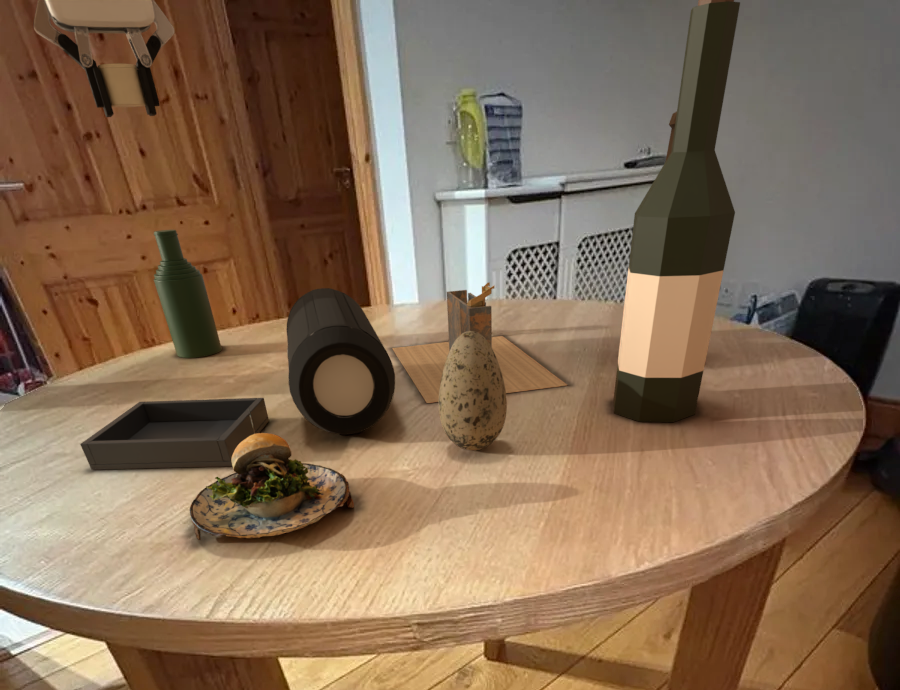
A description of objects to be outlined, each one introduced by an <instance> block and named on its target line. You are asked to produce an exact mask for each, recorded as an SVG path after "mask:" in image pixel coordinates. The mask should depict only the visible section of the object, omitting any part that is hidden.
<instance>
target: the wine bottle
mask: <svg viewBox="0 0 900 690" xmlns="http://www.w3.org/2000/svg"><path fill="white" fill-rule="evenodd" d="M740 7H741V2H740V1H735V0H698V1H697V5H696V6H693V7H692V8H691V9H690V15H689V21H688V22H689V23H688V28H687V37H686V44H685V51H684V58H683V66H682V71H681V78H680V86H679V92H678V101H677V102H678V103H677V107H676V108H677V109H676V111H677V115H676V122H675V129H674V137H673V144H672V151H671V154H670V155H669V157H668V159H667V160H666V159H665V161H666V162H665V161H664V164H663V165H662V166H661V169H660V170H659V172H658V173H657V175H656V177H655V178H654V180H653V182H652V184H651V185H650V187H649V189H648V190H647V192H646V194H645V196H644V197H643V199H642V201H641V202H640V204H639V205H638V207H637V209H636V211H635V212H634V217H633V225H632V235H631V243H630V251H629V261H628V269H627V278H626V285H625V286H626V287H625V295H624V303H623V304H624V305H623V313H622V320H621V321H622V322H621V330H620V339H619V347H618V357H617V366H616V374H615V382H614V390H613V400H612V405H613V413H614V414H615V415H618V416H621V417H625V418H626V419H630V420H633V421H636V422H638V423H675V422H678V421H681V420H683V419H686V418H688V417H692V416H694V415H696V410H697V405H698V400H699V396H700V391H701V384H702V379H703V376H704V370H705V365H706V360H707V355H708V350H709V345H710V341H711V335H712V331H713V327H714V326H713V325H714V319H715V315H716V311H717V306H718V299H719V295H720V290H721V285H722V280H723V275H724V270H725V265H726V259H727V255H728V250H729V245H730V241H731V236H732V235H731V234H732V229H733V224H734V220H735V214H736V210H735V208H734V205H733V202H732V199H731V196H730V192H729V189H728V185H727V184H726V180H725V177H724V174H723V171H722V168H721V165H720V162H719V159H718V156H717V153H716V145H717V139H718V134H719V127H720V123H721V116H722V111H723V105H724V104H723V103H724V99H725V93H726V87H727V81H728V77H729V70H730V64H731V59H732V53H733V48H734V47H733V46H734V41H735V35H736V30H737V24H738V18H739V12H740Z"/></svg>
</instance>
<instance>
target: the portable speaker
mask: <svg viewBox="0 0 900 690" xmlns="http://www.w3.org/2000/svg"><path fill="white" fill-rule="evenodd" d="M285 329H286V338H287V341H286V342H287V351H286V353H287V356H286V357H287V363H288V375H287V377H288V388H289V392H290V396H291V399H292V401H293V403H294V405H295V407H296V409H297V410H298V411H299V412H300V414H301V415H302V416H303V418H304V419H306V420H307V422H309V423H311V425H313V426H315V427H316V428H318V429H320V430H322V431H325V432H327V433H330V434H336V435H339V436H345V435H353V434H360V433H362V432H363V431H365V430H368V429H369V428H371V427H373V426H374V425H376V424H377V423H378V422H379V421H380V420H381V419H382V418H383V417H384V416H385V414H386V413H387V411H388V409H390V406H391V403H392V402H393V399H394V396H395V395H394V394H395V390H396V389H395V388H396V376H395V375H396V374H395V369H394V365H393V362H392V360H391V357H390V355H389V353H388V351H387V350H386V348H385V346H384V344H383V342H382V340H381V339H380V338H379V336H378V334H377V332H376V331H375V328H374V327H373V325H372V323H371V322H370V320H369V318H368V317H367V315H366V313H365V311H364V310H363V309H362V307H361V305H360V304H359V303H358V302H357V301H356V300H355V299H354V298H352V297H351V296H350V295H348V294H347V293H345V292H342V291H340V290H337V289H334V288H330V287H321V288H315V289H312V290H310V291H308V292H306V293H305V294H303V295H302V296H300V297H299V298H298V299H297V300H296V302H294V304H293V305H292V307H291V308H290V311H289V313H288V316H287V320H286V328H285Z"/></svg>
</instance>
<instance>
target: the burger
mask: <svg viewBox="0 0 900 690" xmlns="http://www.w3.org/2000/svg"><path fill="white" fill-rule="evenodd" d="M249 413H250V410H249ZM250 418H251V423H252V426H253V429H254V425H253V421H252V416H251V413H250ZM254 433H255V429H254ZM291 457H292V451H291V447H290V445H289V443H288V442H287V441H286V440H285V439H284V438H283V437H281V436H279V435H277V434H274V433H266V432H260V433H257V434H256V433H255V434H253V435H251V436H249V437H247V438H246V439H245V440H243V441H242V442H241V443H240V444H239V445H238V446H237V447H236V449H235V451H234V453H233V455H232V459H231V461H232V466H231V467H232V469H233V472H234V473H231V474H229V475H227V476H224V477H222V478H221V477H219V476H216V477H214V479H215V480H216V481H214V482H213V483H210V484H209V485H205V488H203V489H202V490H200V491H199V492H198V493H197V495H196V496H195V498H194V499H193V500H192V501H191V504H190V506H189V516H190V519H191V522H192V524H193V526H194V527H193V532H194V535H195V537H196V539H197V540H198V541H201V539H202V537H201V532H204V533H205V534H208V535H210V536H213V537H220V536H226V537H234V538H237V539H244V538H246V539H260V538H261V537H272V536H279V535H283V534H285V533H292V532H293V531H296V530H301V529H303V528H305V527H308V526H309V525H313V524H314V523H317V522H319V521H320V520H321V519H323V517H325V516H326V515H328V514H330V513H332V512H333V511H334V510H336V509H337V508H339V507H343V506H344V505H345V503H346V505H347V508H348V509H352V508H355V503H354V500H353V498H352V493H351V491H350V486H349V481H347V478H346V476H345V475H343V473H341V472H339V471H336V470H335V469H332V468H330V467H326V466H323V465H320V464H319V465H318V464H314V463H306V462H302V461H301V460H298V459H296V458H294V459H290V458H291Z"/></svg>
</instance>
